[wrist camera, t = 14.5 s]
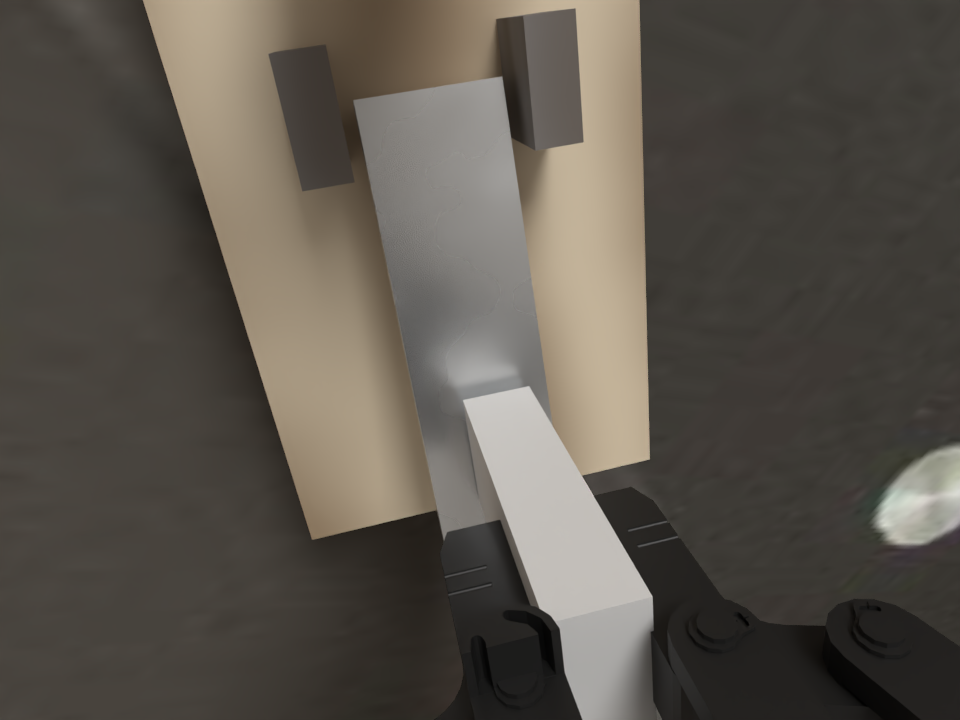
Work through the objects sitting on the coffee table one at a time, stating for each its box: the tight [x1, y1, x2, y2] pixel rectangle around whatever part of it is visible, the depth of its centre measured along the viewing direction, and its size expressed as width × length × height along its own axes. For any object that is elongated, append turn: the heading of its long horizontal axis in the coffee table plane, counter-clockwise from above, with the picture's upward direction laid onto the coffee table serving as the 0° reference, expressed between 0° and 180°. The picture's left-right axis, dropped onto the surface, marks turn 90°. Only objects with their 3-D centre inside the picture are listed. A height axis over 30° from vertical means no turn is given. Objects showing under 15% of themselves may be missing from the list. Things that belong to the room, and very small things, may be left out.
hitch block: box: [143, 0, 650, 540], centre depth 16 cm, size 10×22×7 cm, turn 8°
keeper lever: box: [353, 77, 553, 543], centre depth 16 cm, size 3×12×1 cm, turn 8°
